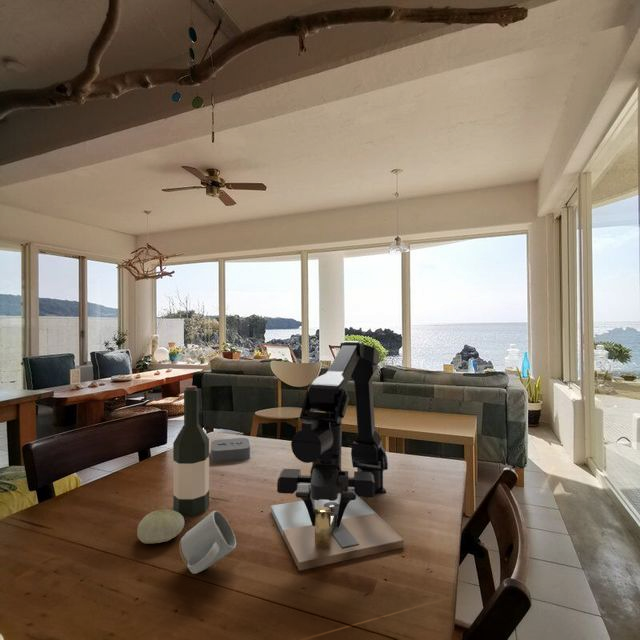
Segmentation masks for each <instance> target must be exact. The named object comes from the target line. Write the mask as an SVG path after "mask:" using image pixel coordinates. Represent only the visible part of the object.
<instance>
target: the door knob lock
mask: <svg viewBox="0 0 640 640" xmlns="http://www.w3.org/2000/svg"><path fill="white" fill-rule="evenodd" d="M338 506H339V504H338V503H336V502H327V503H325V504H324V507H318V508H316V509H315V510H314V516H315V546H316V547H318V548H328V547H329V546H330V545H331V533H332V530H333V527H334V524H335V522H337V513H338Z"/></svg>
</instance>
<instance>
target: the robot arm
mask: <svg viewBox="0 0 640 640" xmlns="http://www.w3.org/2000/svg"><path fill="white" fill-rule="evenodd" d="M379 365H380V353H379V351H378V349H377V348H376V347H374V346H371V345H367V344H365V343H364V342H362V341H360V340H344V341H342V342H340V345H339V350H338V353H336V356H335V358H334V359H333V361H332V363H331V365H330V366H329V368H328V369H327V372H325V373H324V374H322V375H319V376H317V377H316V378H315V379H314V380H313V381H312V382H311V384H310V385H309V387H308V388H307V389H306V392H305V397H304V399H303V405H302V407H301V411H300V415H299V420H302V421H303V422H301V429H300V430H297V431H296V433H294V435H293V437H292V440H291V442H290V445H291V446H290V447H291V451H292V453H293V455H294V457H295V458H296V459H297V460H298V461H300V462H302V463H305V464H310V463H311V468H310V475H302V472H301V470H302V469H300V468H299V469H298V468H283V469H282V470H281V472H280V474H279V476H278V478H277V483H276V487H277V489H276V492H277V493H278V494H287V495H288V494H290V495H291V494H294V493H295V497H296V498H297V499H298V498H299V499H301V501H304V503H305V505H306V507H307V510H308V513H309V516H310V519H311V523H312V526H315V516H314V510H315V504H314V500H320V499H321V500H329V501H335V500H336V499H337V498H338V495H340V499H339V506H338V513H337V527H339V525H340V523H341V520H342V517H343V514H344V511H345V509H346V507H347V505H348V503H349V502H350V501H351V500H355V499H356V495H357V496H358V497H360V498H374V497H376V495H377V494H383V493H386V492H387V489H385V488H384V471H388V470H389V462H388V456H387V452H386V450H385V448H384V447H383V440H382V438H381V435H379V433H378V432H377V430H376V422H375V407H374V406H375V405H374V403H375V402H374V389H373V377H374V375H375V374H376V372H377V370H378V367H379ZM350 379H352V381H353V383H354V398H355V411H356V412H355V413H356V414H355V415H356V425H357V435H356V437H355V439H354V441H353V442H352V444H351V451H350V457H351V463H352V468H356V470H357V471H353V477H352V476H349V470H348V471H347V470H342V425H343V423H342V422H343V421H342V420H343V419H344V418H345V417H346V412H347V408H348V405H349V401H350V396H349V393H348V390H347V386H348V383H349V381H350ZM311 410H312V411H311Z"/></svg>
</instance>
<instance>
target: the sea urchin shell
mask: <svg viewBox="0 0 640 640" xmlns="http://www.w3.org/2000/svg"><path fill="white" fill-rule="evenodd" d="M185 524H186V523H185V517H183V516H182V515H181V514H180V513H178V512H176V511H174V510H173V509H170V508H169V509H168V508H163V509H158V510H154V511H151V512H149V513H147V514H145V516H144V517H142V519H141V521H139V523H138V525H137V531H136V533H137V534H136V537H137V538H138V540H139V541H140V542H141V543H143V544H146V545H147V544H160V543H165V542H168V541H170V540H172V539H173V538H176V537H177V536H178V535H180V533H182V531H183V529H184V527H185Z"/></svg>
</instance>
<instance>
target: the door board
mask: <svg viewBox="0 0 640 640" xmlns="http://www.w3.org/2000/svg"><path fill="white" fill-rule="evenodd" d="M339 499H340V494H338V498H337V499H336V500H335V501H329V500H321V499H320V500H314V504H315V509H316V508H318V507H324V504H325V503H327V502H336V503H338V504H339ZM270 512H271V514H272V515H271V516H272V517H273V519H274V521H275V523H276V525H277V528H278V530H279V531H280V534H281V535H282V538H283V540H284V542H285V545H286V546H287V548H288V550H289V552H290V555H291V557H292V559H293V561H294V563H295V565H296V567H297V569H298V571H304V570H309V569H313V568H317V567H322V566H326V565H331V564H334V563H339V562H345V561H348V560H354V559H357V558H362V557H366V556H371V555H375V554H380V553H385V552H388V551H393V550H394V551H395V550H398V549H402V548H404V546H405V544H404V543H405V541H404V539H403V537H401V535H400V534H398V532H396V531H395V530H394V529H393V528H392V527H391V526H390V525H389V524H388V523H387V522H386V521H385V520H384V519H383V518H382V517H381V516H379V514H378V513H377V512H376V511H374V510H373V508H372V507H370V506H369V505H368V503H366V502H365V501H364V500H363V499H362V497H358V496H357V495H356V499H355V500H351V501H350V502H349V503H348V505H347V507H346V509H345V511H344V514H343V517H342V520H341V523H340V525H339V527H337V522H335V524H334V527H333V530H332V533H331V545H330V546H329V547H328V548H318V547H316V546H315V526H312V523H311V519H310V516H309V513H308V510H307V507H306V505H305V503H304V501H303V500H298V501H291V502H286V503H281V504H280V503H279V504H273V505H270Z"/></svg>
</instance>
